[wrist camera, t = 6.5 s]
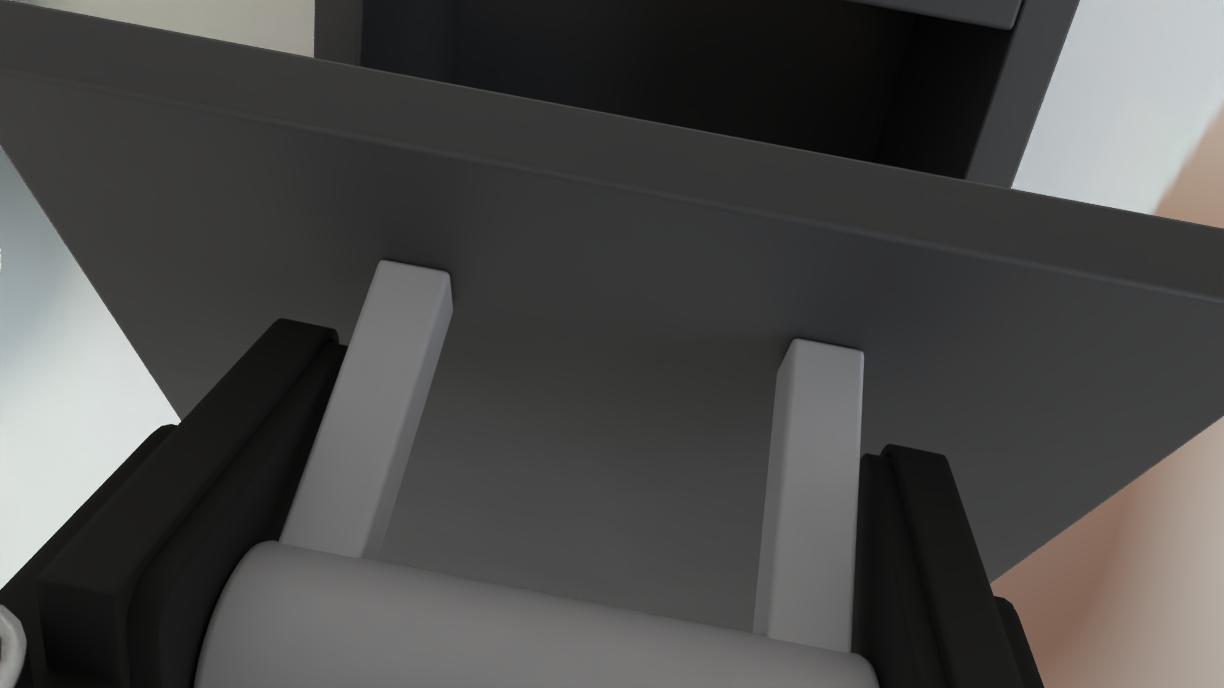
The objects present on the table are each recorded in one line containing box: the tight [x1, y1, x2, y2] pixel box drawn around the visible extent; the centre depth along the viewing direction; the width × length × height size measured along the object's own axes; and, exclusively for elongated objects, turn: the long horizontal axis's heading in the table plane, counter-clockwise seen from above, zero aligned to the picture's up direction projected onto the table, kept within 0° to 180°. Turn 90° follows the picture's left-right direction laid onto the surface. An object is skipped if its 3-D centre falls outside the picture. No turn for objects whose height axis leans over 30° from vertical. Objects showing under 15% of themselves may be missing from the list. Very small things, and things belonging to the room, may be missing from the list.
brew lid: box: [0, 0, 1224, 688], centre depth 13 cm, size 14×12×5 cm
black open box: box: [314, 0, 1080, 189], centre depth 21 cm, size 14×12×8 cm
